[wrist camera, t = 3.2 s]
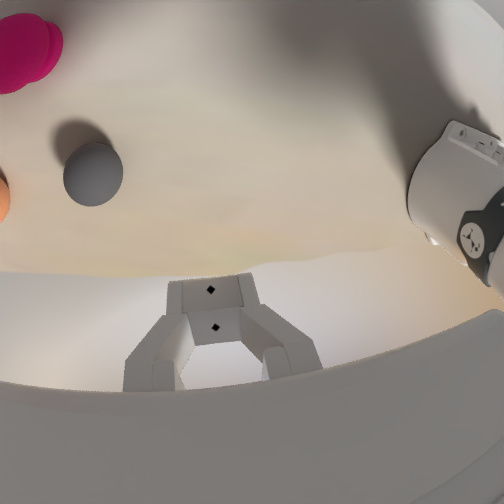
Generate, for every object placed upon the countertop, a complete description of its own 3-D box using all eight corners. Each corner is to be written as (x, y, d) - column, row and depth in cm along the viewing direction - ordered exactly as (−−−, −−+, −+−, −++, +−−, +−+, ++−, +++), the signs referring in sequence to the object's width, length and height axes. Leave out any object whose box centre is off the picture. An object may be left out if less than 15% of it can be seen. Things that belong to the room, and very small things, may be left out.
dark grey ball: (119, 128, 22) (100, 144, 18) (136, 181, 25) (123, 208, 21) (69, 147, 22) (43, 167, 17) (88, 196, 25) (68, 225, 21)
